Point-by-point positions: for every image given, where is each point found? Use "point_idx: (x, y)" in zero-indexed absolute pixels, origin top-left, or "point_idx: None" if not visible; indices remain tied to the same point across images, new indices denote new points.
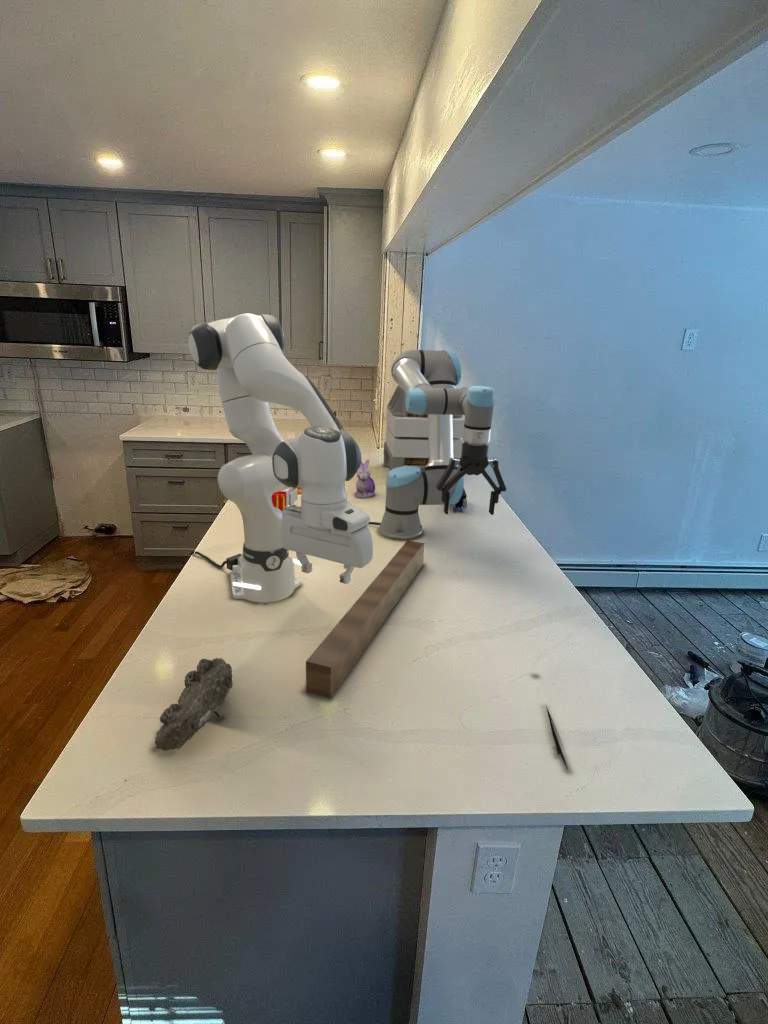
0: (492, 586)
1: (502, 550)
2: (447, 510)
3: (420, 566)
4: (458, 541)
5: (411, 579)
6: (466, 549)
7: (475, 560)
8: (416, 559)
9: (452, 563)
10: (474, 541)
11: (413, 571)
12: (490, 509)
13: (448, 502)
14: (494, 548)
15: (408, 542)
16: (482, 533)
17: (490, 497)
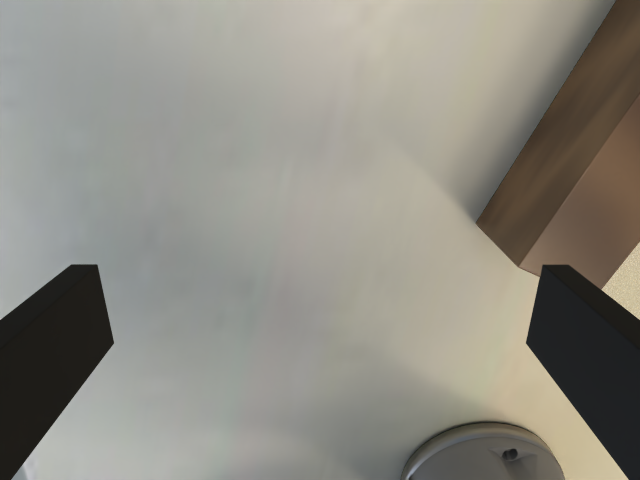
0: (214, 6)
1: (119, 350)
2: (576, 283)
3: (501, 191)
4: (279, 417)
5: (586, 57)
6: (262, 357)
7: (244, 265)
8: (588, 128)
9: (346, 238)
10: (218, 418)
11: (587, 83)
12: (82, 322)
13: (636, 339)
14: (149, 365)
15: (599, 272)
16: (176, 476)
17: (16, 462)
